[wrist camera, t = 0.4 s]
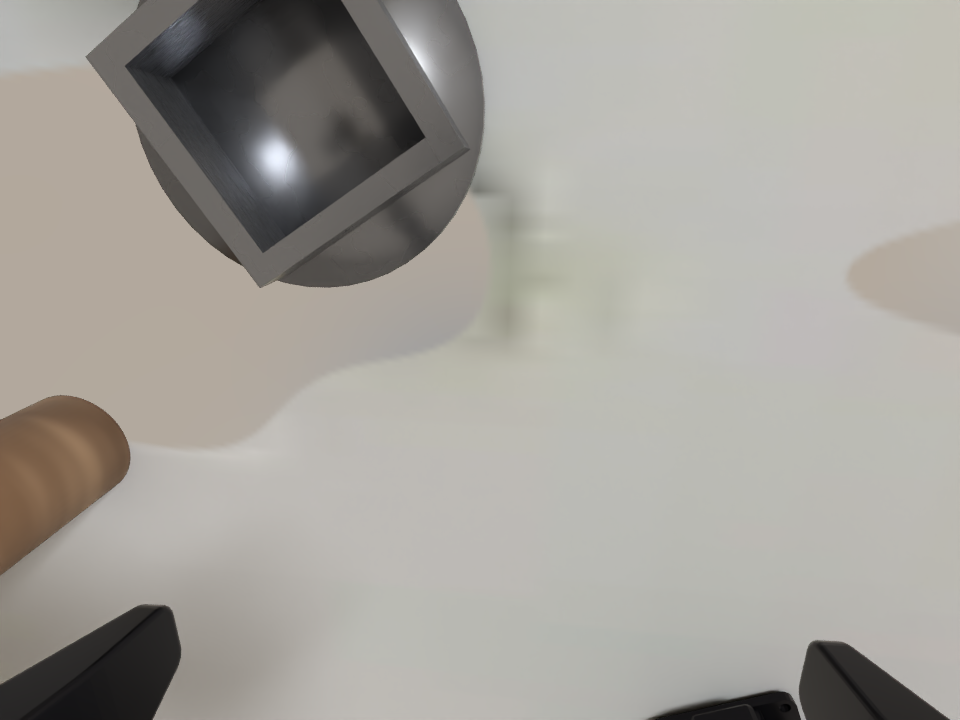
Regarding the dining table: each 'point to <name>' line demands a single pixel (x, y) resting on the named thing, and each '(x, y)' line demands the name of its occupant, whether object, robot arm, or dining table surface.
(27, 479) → the brown tapered domed piece
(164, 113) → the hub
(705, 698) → the dining table surface
